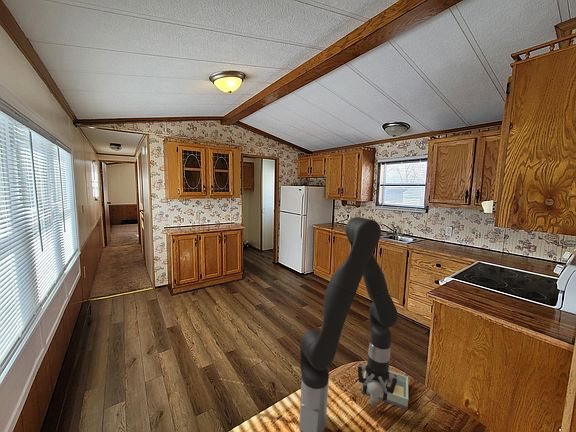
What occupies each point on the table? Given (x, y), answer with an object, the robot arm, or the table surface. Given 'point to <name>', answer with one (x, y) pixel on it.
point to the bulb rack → (395, 391)
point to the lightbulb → (374, 391)
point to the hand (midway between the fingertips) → (374, 396)
